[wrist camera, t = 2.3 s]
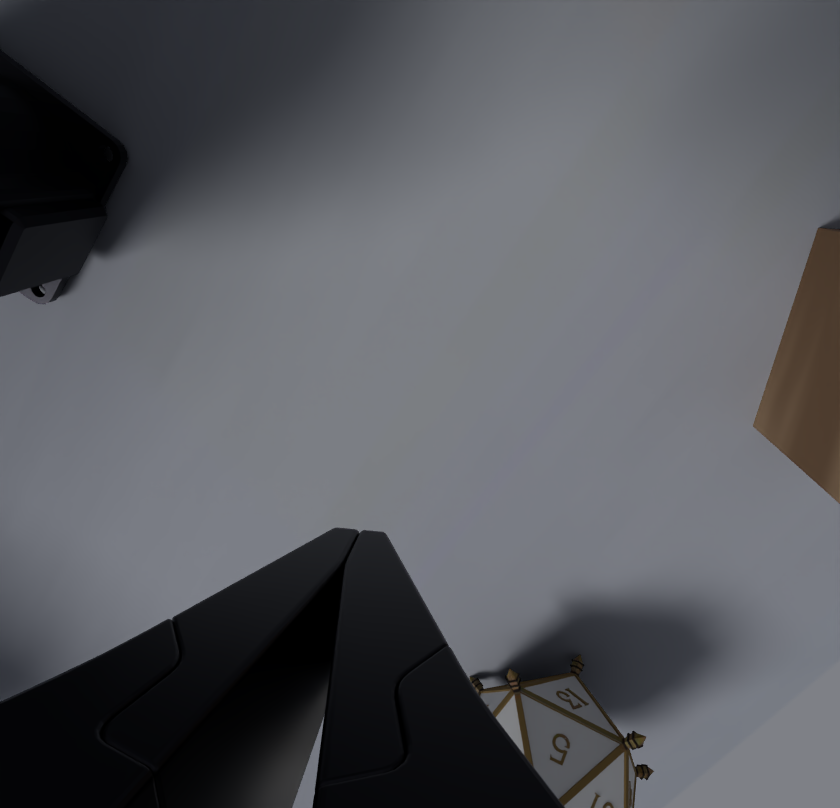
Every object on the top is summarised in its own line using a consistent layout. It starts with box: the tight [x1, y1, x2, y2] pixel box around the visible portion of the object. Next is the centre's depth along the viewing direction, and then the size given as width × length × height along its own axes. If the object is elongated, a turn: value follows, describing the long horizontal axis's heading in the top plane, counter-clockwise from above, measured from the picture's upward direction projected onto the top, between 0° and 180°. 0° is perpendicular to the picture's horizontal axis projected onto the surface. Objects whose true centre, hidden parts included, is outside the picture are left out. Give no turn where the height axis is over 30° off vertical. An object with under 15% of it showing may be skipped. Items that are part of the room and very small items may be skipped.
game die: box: [470, 655, 654, 808], centre depth 23 cm, size 9×8×10 cm
